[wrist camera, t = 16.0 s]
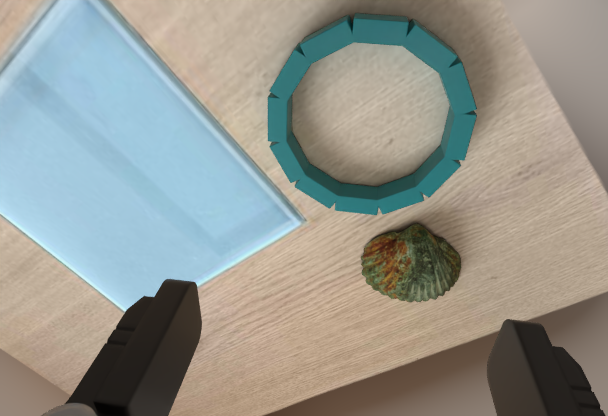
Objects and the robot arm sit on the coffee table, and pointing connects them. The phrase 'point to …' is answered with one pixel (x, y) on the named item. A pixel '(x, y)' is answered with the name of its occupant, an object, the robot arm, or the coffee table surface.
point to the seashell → (410, 265)
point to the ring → (400, 190)
